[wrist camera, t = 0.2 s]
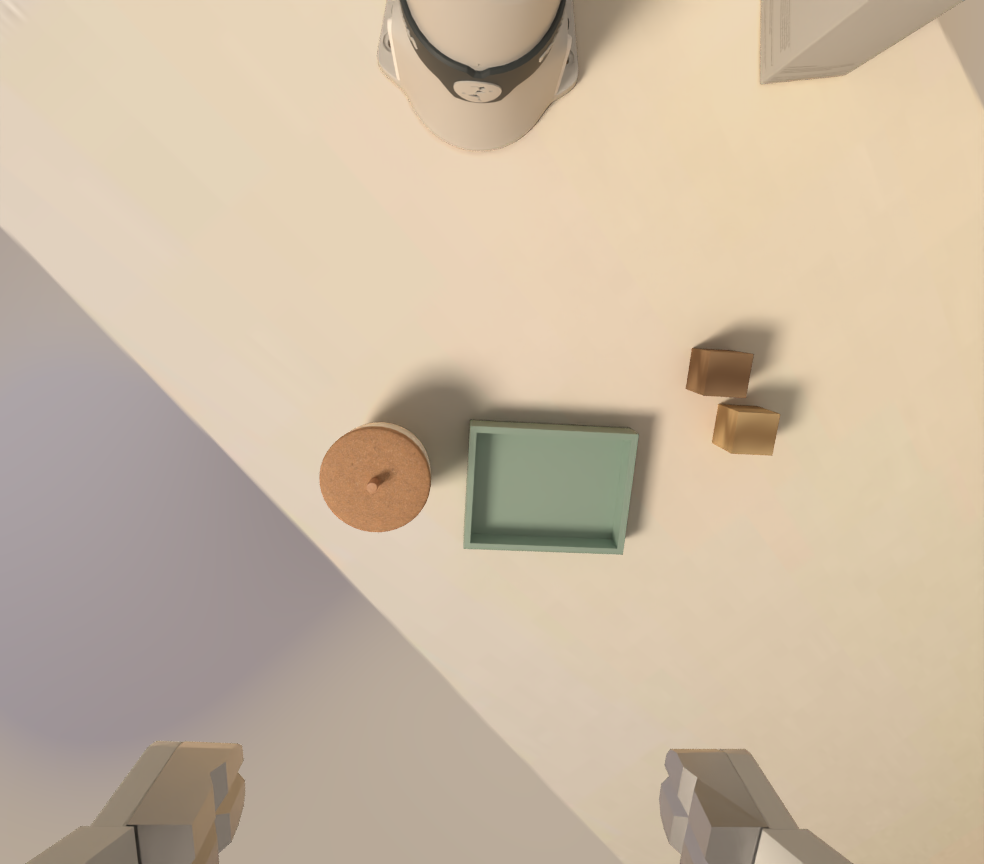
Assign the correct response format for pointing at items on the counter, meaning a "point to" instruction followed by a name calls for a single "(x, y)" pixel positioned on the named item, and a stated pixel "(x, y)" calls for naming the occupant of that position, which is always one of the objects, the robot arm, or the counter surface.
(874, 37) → the supplement box
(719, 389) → the walnut block
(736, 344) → the counter surface
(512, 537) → the tray
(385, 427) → the lidded jar
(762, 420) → the oak block
